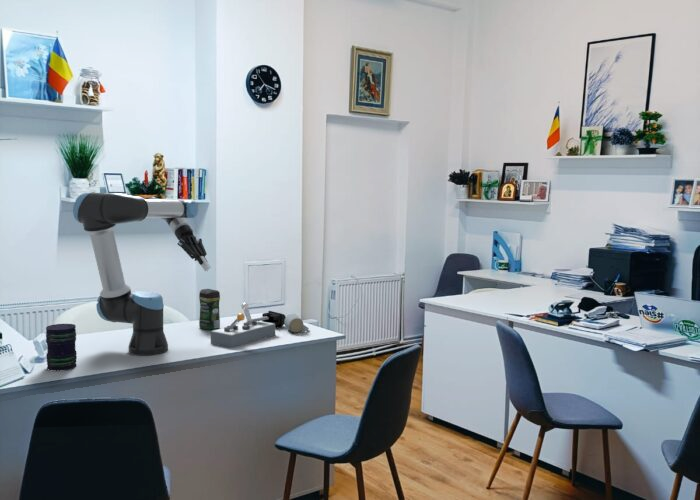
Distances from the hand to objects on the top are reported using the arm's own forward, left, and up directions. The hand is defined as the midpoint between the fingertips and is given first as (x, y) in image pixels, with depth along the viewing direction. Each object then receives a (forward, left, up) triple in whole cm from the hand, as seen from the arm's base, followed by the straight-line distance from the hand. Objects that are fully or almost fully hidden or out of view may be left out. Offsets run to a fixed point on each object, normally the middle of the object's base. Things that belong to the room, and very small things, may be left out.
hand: (207, 269), depth 272 cm
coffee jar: (-1, +17, -30) cm, 35 cm away
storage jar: (-47, -45, -30) cm, 72 cm away
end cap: (+29, +21, -30) cm, 47 cm away
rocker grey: (+23, +3, -23) cm, 33 cm away
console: (+16, -5, -30) cm, 35 cm away
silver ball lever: (+19, -2, -23) cm, 30 cm away
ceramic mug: (+40, +9, -30) cm, 51 cm away
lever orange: (+11, -12, -23) cm, 28 cm away
